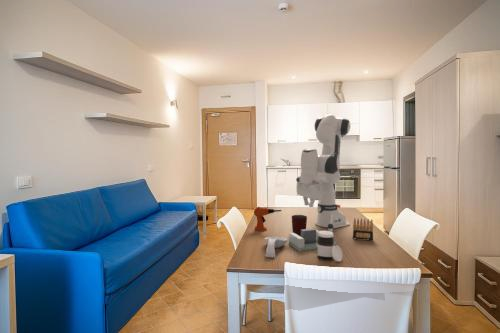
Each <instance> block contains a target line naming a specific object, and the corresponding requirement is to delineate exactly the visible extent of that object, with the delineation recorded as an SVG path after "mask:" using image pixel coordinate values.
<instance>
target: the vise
mask: <svg viewBox="0 0 500 333" xmlns="http://www.w3.org/2000/svg"><path fill="white" fill-rule="evenodd" d="M288 236H289V239H288V240H289V241H288V245H290V246H291V247H292V248H294V249H296V250H297V252H301V251H308V250H315V249H316V250H317V240H316V243H310V244H304V238H302V237H300V236H299V235H297V234H295V233H293V232H289V234H288ZM334 246H337V242H335V241H334Z"/></svg>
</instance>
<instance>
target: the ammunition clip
mask: <svg viewBox="0 0 500 333" xmlns="http://www.w3.org/2000/svg"><path fill="white" fill-rule="evenodd" d="M353 238H356V239H355V240H358V239H369V240H368V241H370V240H373V241H374V223H373V219H370V220H369V218H367V219H366V218H364V219H363V218H360V219H359V218H358V217H357V220H356V218H355V217H354V219H353V226H352V239H353Z"/></svg>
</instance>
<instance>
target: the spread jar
mask: <svg viewBox="0 0 500 333" xmlns="http://www.w3.org/2000/svg"><path fill="white" fill-rule="evenodd" d="M318 235H319V236H318V240H317V249H316V250H317V251H316V252H317V253H316V255H317V258H319V259H321V260H327V259H329V260H332V259H333V260H334V261H335V262H341V261H343V252H342V249H341V247H340V246H339V245H336V246H334V242H335V238H333V236H334V231H333V232H330V231H328V230H319V233H318ZM327 261H328V260H327Z"/></svg>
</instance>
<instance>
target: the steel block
mask: <svg viewBox="0 0 500 333" xmlns="http://www.w3.org/2000/svg"><path fill="white" fill-rule="evenodd" d="M316 230H317V229H315V228H306V229H301V237H302V238H304V244H310V243H316Z"/></svg>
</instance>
